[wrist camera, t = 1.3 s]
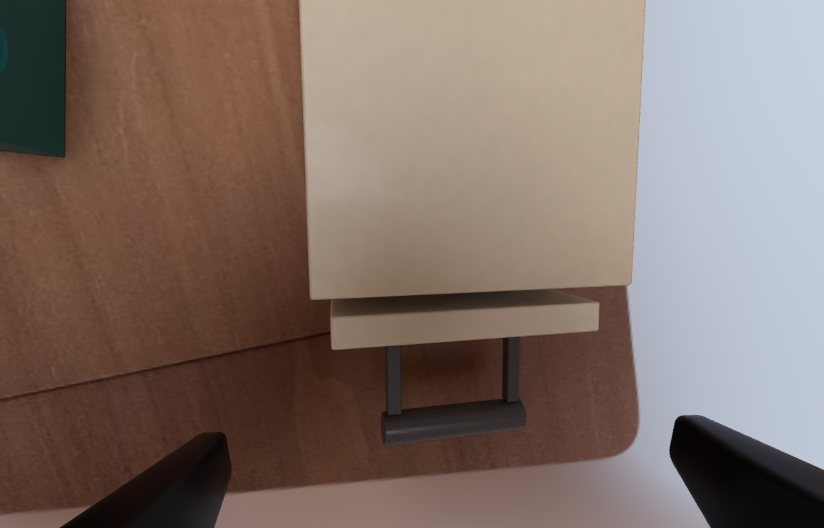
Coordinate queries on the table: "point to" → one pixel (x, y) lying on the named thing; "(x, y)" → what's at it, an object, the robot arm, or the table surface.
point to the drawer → (455, 321)
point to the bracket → (32, 76)
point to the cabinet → (469, 144)
